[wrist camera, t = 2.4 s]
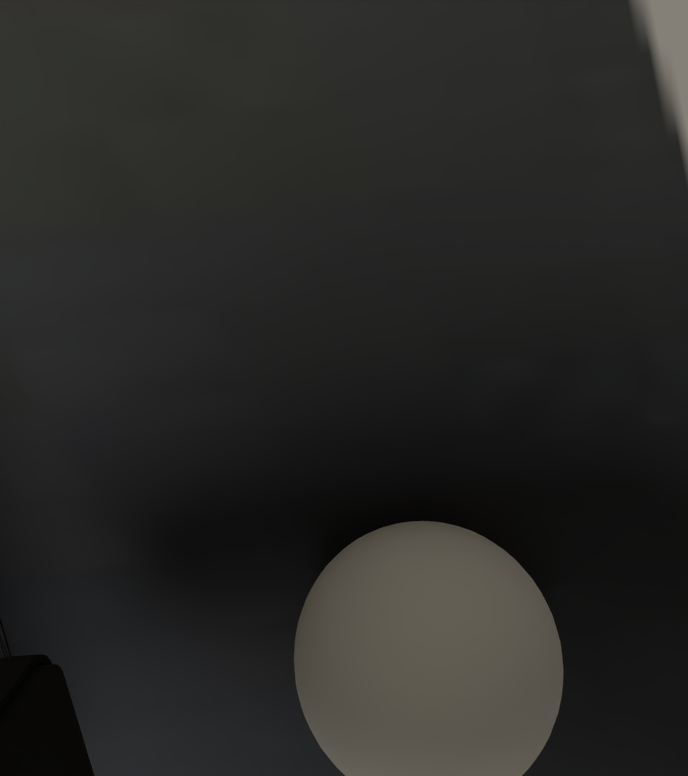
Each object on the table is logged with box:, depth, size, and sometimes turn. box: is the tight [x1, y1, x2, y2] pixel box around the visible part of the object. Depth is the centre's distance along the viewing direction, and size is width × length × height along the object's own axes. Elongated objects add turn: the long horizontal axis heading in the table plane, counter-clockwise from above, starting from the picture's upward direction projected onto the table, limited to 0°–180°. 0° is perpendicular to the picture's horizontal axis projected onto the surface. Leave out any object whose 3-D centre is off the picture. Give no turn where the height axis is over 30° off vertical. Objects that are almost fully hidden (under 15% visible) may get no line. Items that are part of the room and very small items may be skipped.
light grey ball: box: [294, 521, 563, 776], centre depth 11 cm, size 4×4×4 cm
